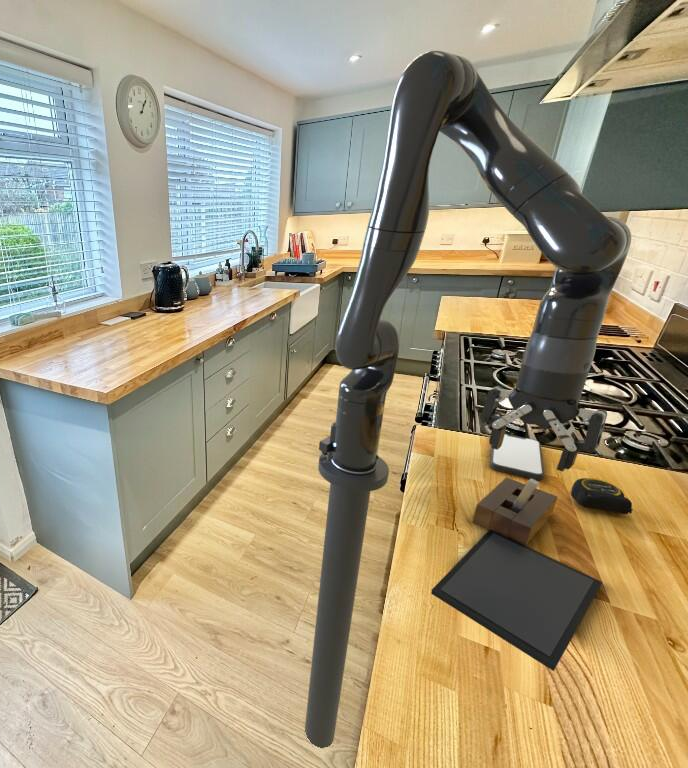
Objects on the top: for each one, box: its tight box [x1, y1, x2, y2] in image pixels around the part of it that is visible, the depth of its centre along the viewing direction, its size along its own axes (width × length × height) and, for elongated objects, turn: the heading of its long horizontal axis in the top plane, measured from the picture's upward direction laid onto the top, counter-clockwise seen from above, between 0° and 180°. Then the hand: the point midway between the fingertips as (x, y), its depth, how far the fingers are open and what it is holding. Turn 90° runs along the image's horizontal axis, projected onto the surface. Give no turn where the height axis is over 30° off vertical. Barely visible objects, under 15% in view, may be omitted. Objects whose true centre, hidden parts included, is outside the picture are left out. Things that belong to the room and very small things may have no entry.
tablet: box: [430, 529, 603, 672], centre depth 60 cm, size 14×20×1 cm
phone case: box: [489, 433, 545, 481], centre depth 91 cm, size 9×2×16 cm
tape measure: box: [570, 477, 634, 515], centre depth 75 cm, size 7×7×4 cm
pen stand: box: [471, 476, 559, 546], centre depth 73 cm, size 8×13×4 cm, turn 125°
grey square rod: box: [510, 478, 540, 513], centre depth 70 cm, size 1×1×10 cm
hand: (527, 457), depth 67 cm, fingers open, 8 cm apart
